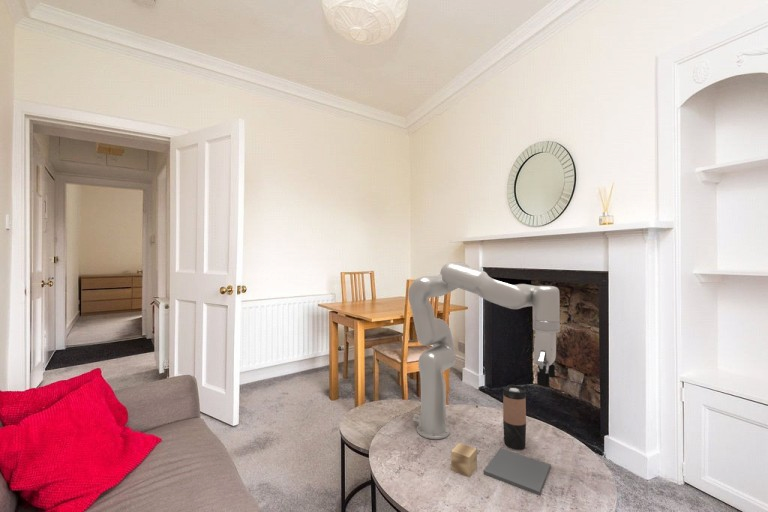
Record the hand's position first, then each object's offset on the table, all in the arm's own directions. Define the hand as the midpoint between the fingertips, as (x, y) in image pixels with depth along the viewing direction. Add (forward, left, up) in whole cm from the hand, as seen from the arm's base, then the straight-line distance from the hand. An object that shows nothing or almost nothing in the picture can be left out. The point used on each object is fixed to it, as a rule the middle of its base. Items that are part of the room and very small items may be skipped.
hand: (546, 381), depth 104 cm
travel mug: (-13, +11, -29) cm, 34 cm away
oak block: (-22, -13, -29) cm, 38 cm away
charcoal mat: (-8, -4, -29) cm, 30 cm away
